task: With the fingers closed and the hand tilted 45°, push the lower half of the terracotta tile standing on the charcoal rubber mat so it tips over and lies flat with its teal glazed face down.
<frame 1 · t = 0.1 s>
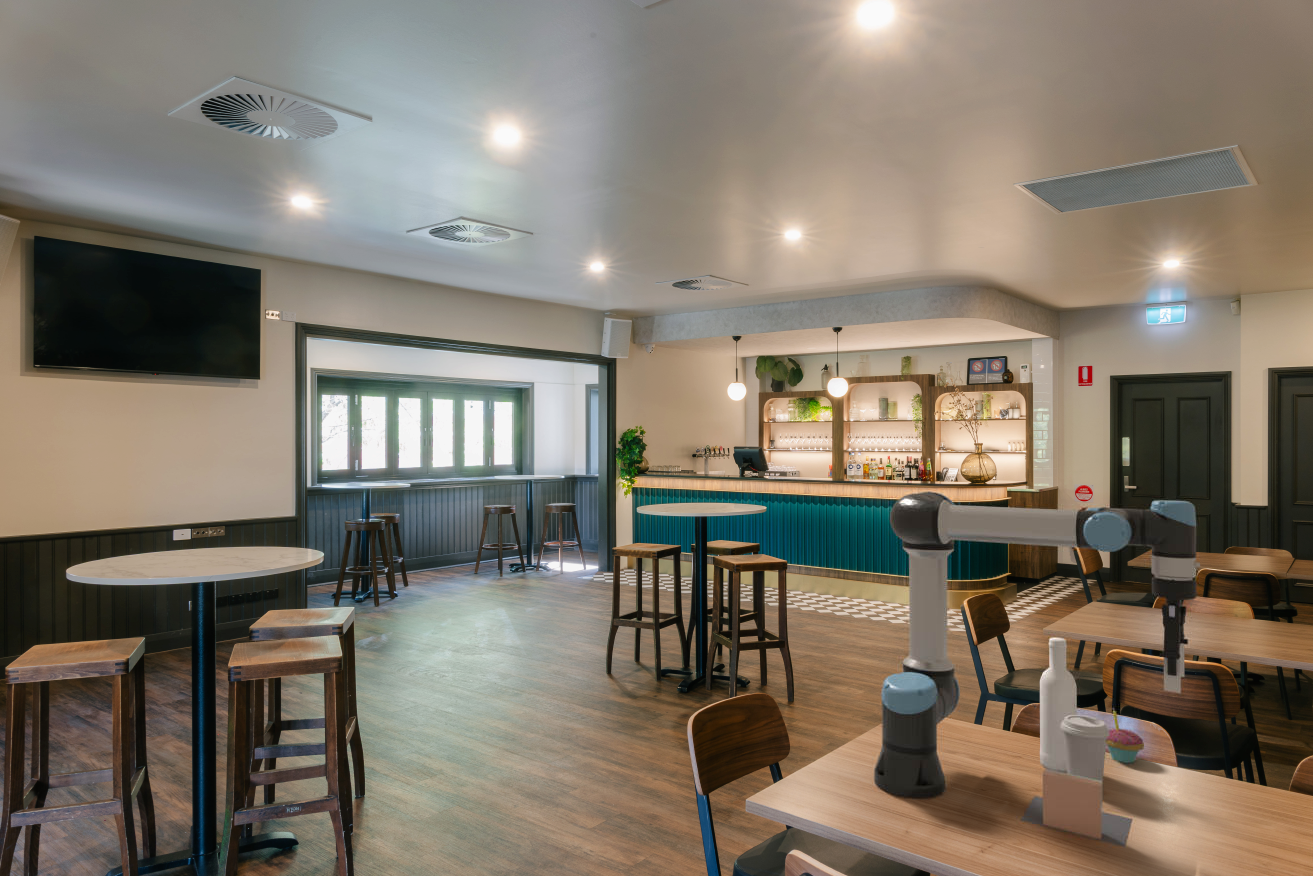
hand: (1174, 683, 158), 28 cm above the table, tool pointing down, fingers open, 13 cm apart
tile: (1072, 828, 153), point 1 cm above the table, touching mat
bottle: (1058, 766, 186), on the table
mat: (1076, 822, 158), on the table
coffee cup: (1084, 789, 173), on the table
cupcake: (1123, 760, 191), on the table
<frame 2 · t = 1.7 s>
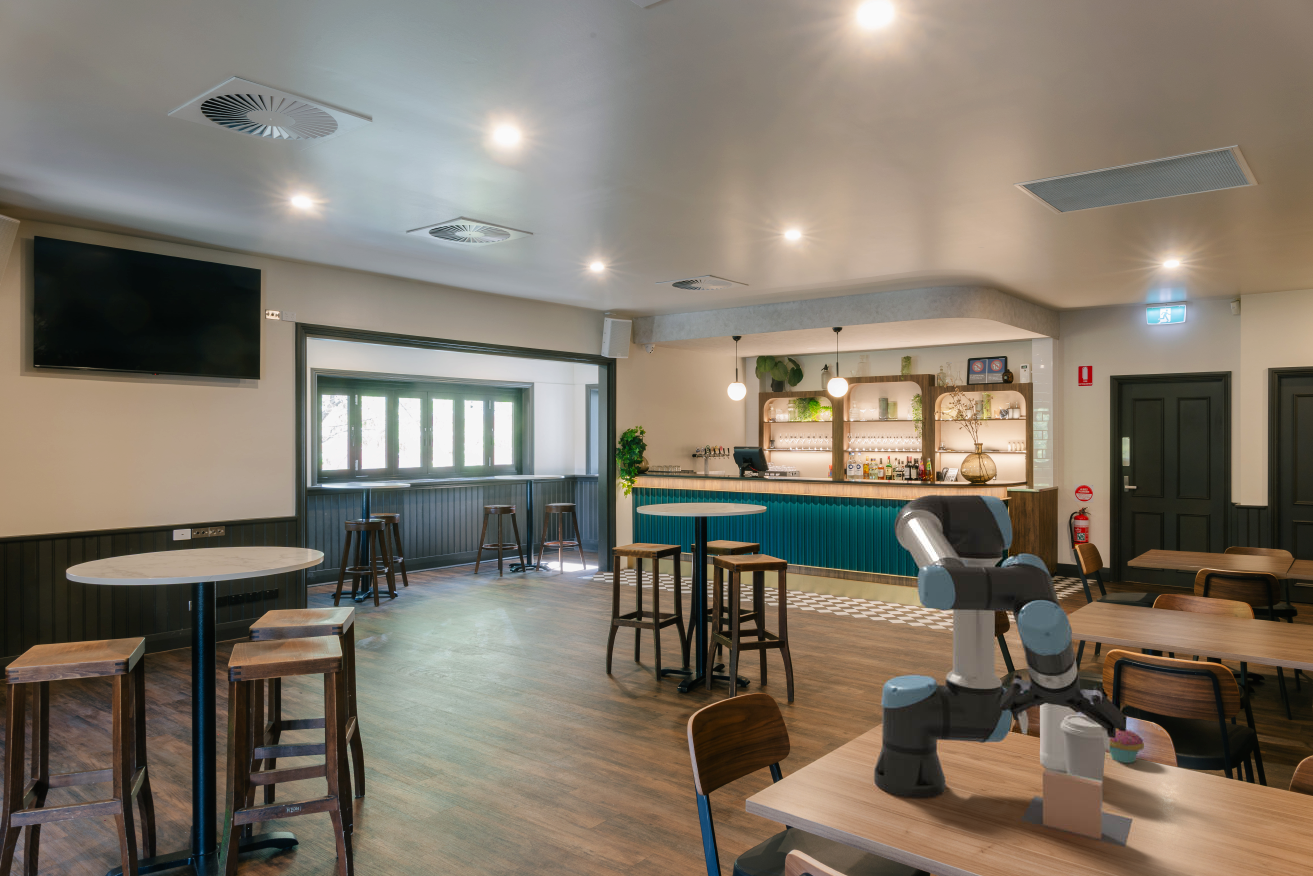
hand: (1065, 735, 146), 22 cm above the table, tool tilted 45°, fingers open, 13 cm apart
nothing on the table moved.
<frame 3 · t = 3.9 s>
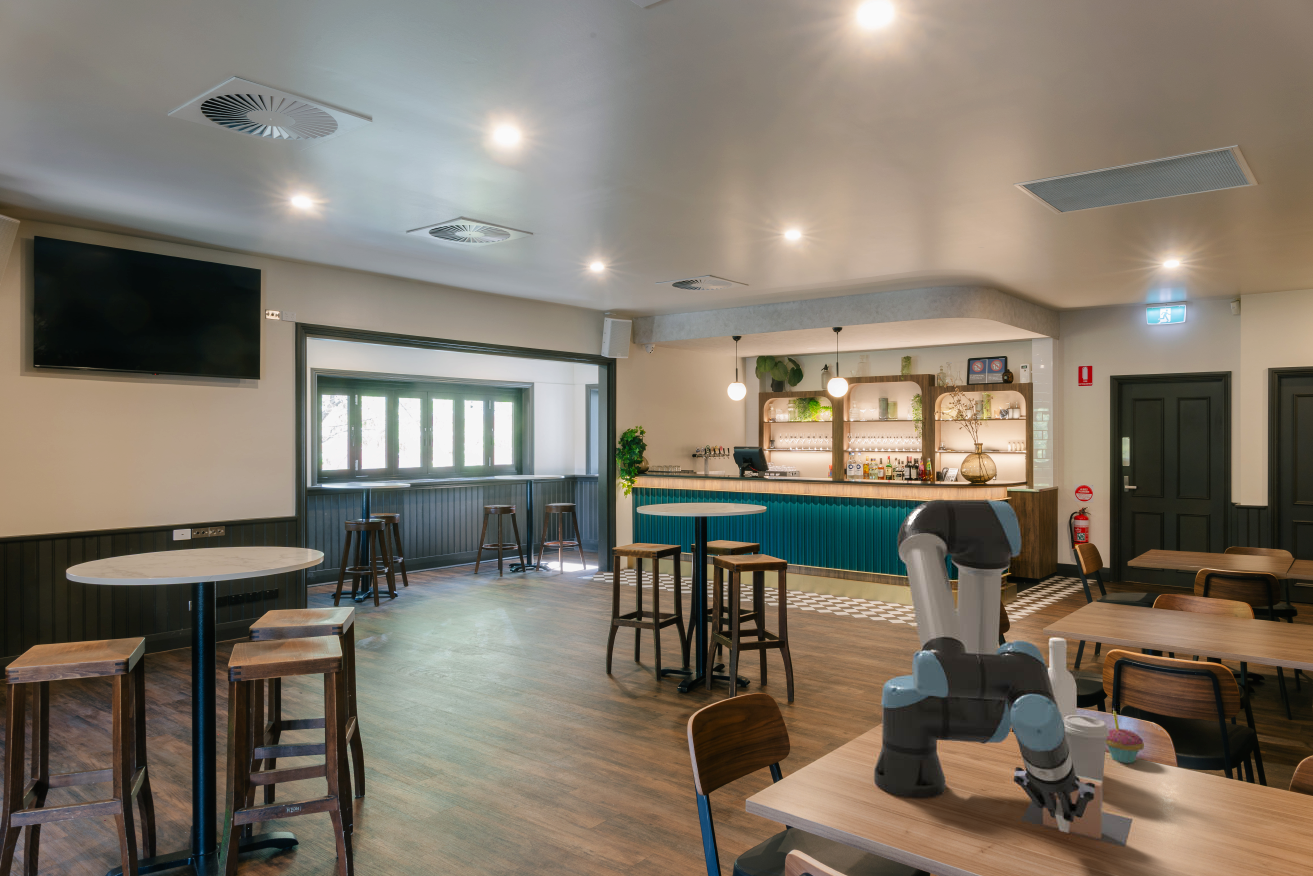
hand: (1064, 824, 146), 5 cm above the table, tool tilted 45°, fingers closed
nothing on the table moved.
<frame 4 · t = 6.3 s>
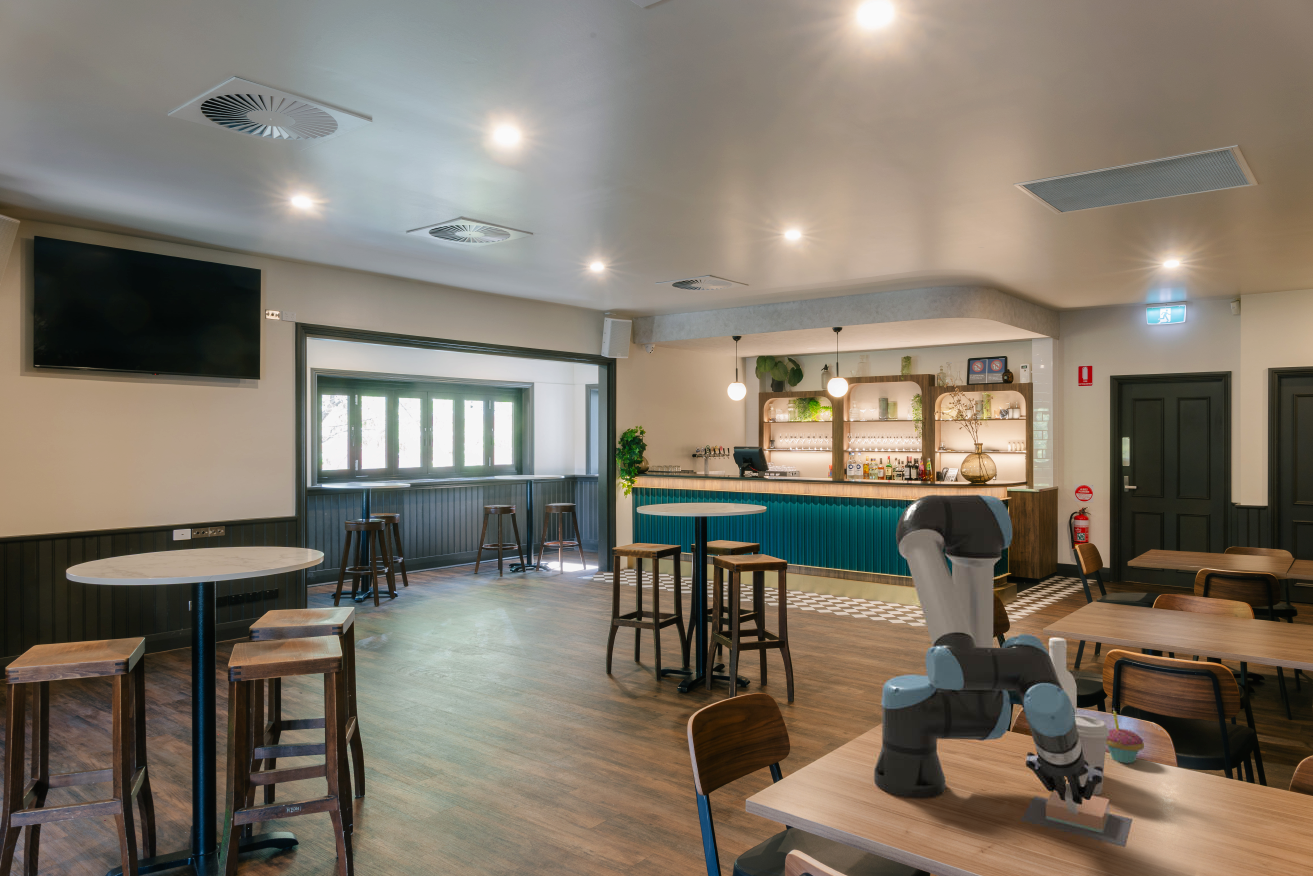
hand: (1073, 806, 154), 5 cm above the table, tool tilted 45°, fingers closed
tile: (1073, 818, 155), point 2 cm above the table, tilted 90°, touching mat
everything else where it was.
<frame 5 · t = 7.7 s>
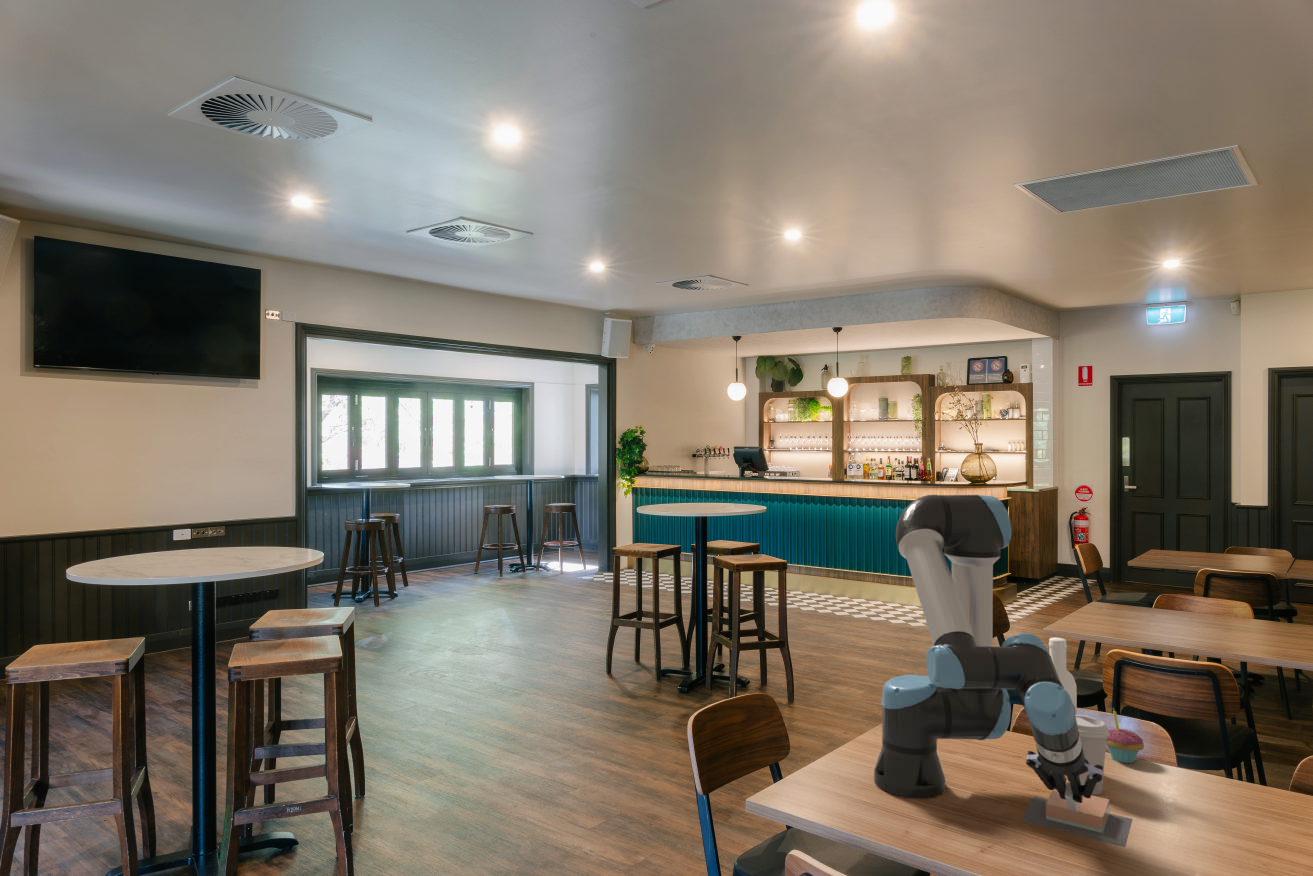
hand: (1073, 805, 155), 5 cm above the table, tool tilted 45°, fingers closed
nothing on the table moved.
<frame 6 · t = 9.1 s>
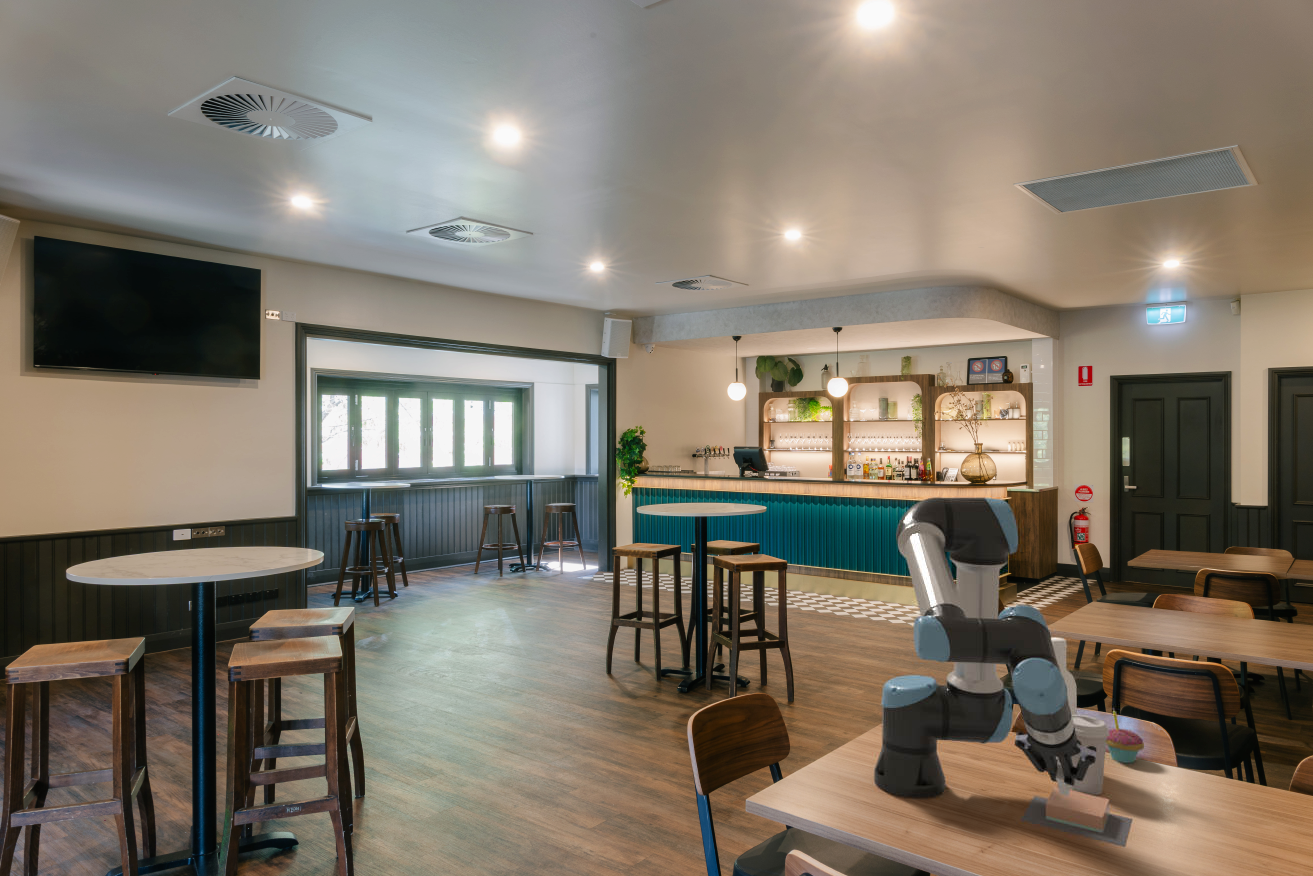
hand: (1065, 787, 146), 12 cm above the table, tool tilted 45°, fingers closed
nothing on the table moved.
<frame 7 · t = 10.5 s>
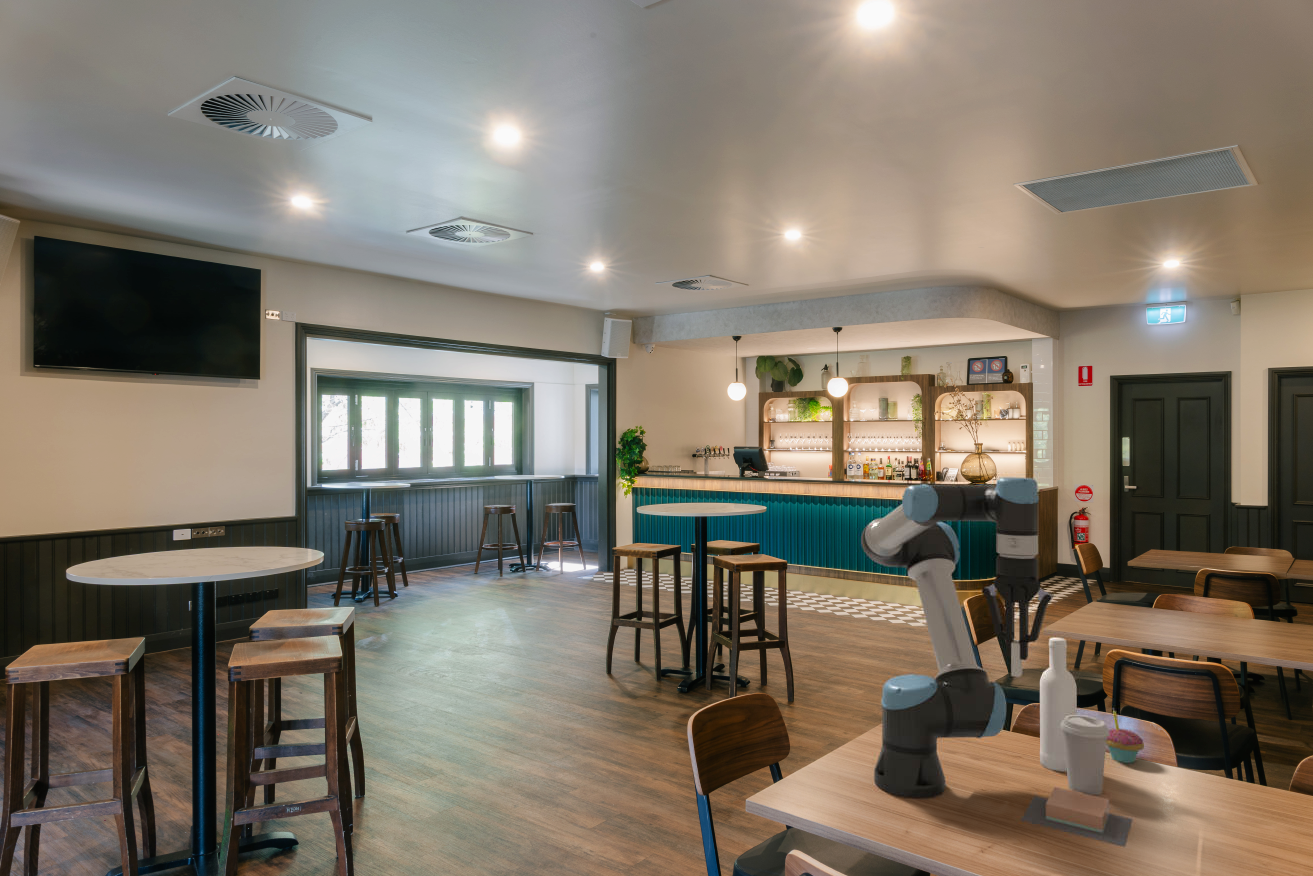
hand: (1016, 674, 155), 30 cm above the table, tool pointing down, fingers closed
nothing on the table moved.
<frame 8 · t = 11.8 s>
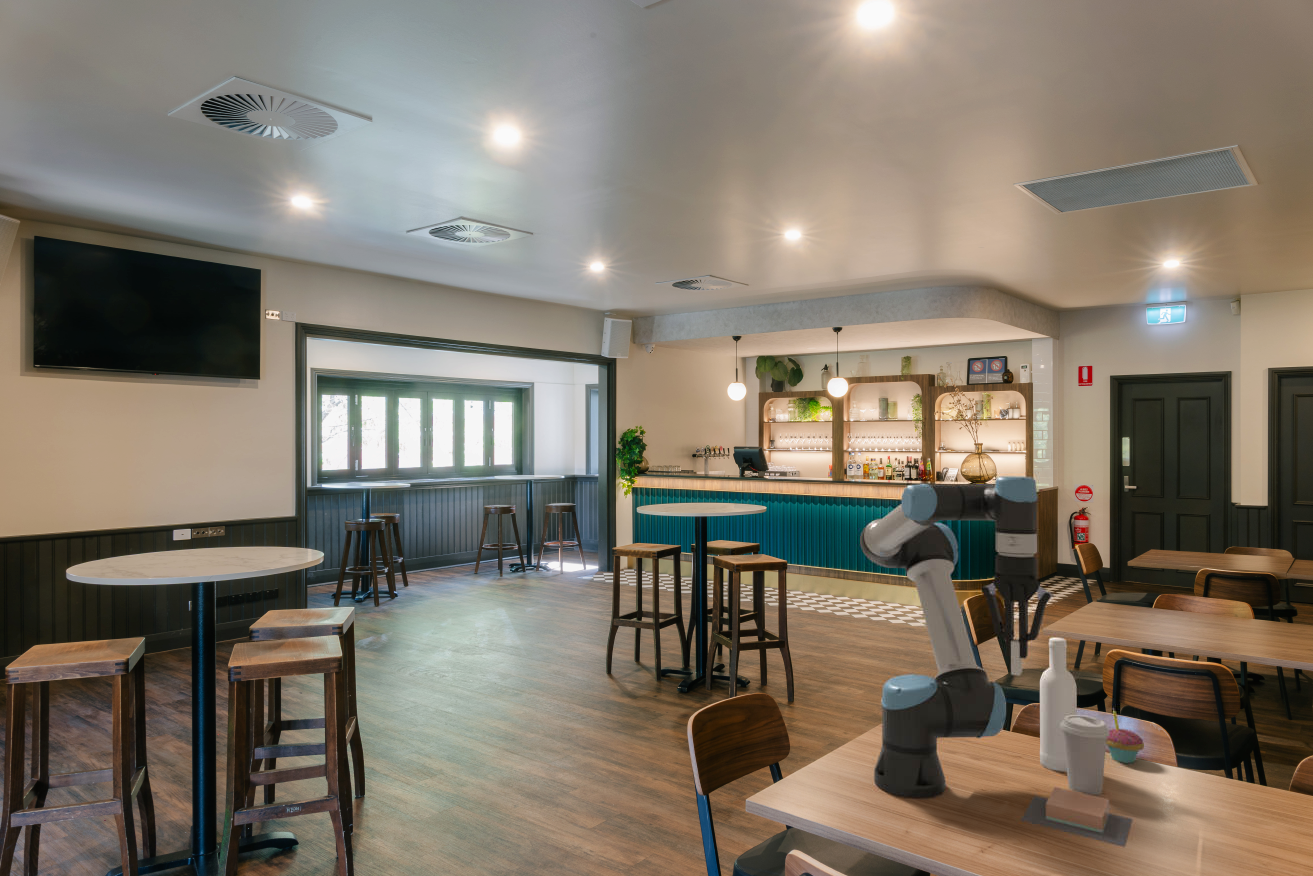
hand: (1016, 673, 155), 30 cm above the table, tool pointing down, fingers closed
nothing on the table moved.
at the end: tile tilted 90°; tile inside the target area (2.9 cm from its centre), point 2.1 cm above the table; the gripper is holding nothing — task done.
